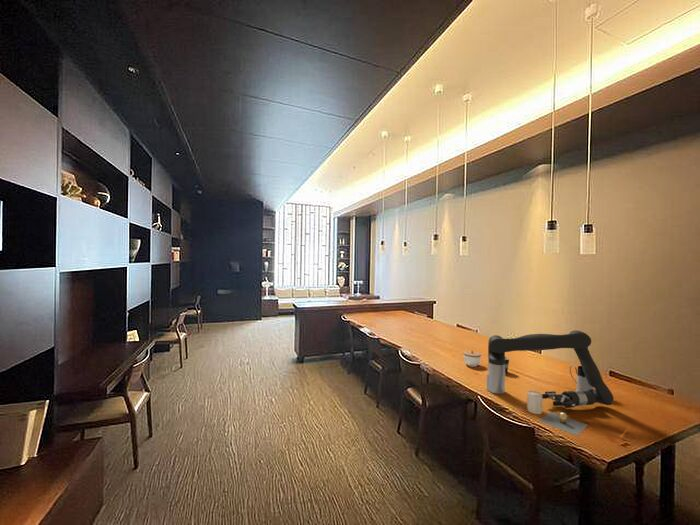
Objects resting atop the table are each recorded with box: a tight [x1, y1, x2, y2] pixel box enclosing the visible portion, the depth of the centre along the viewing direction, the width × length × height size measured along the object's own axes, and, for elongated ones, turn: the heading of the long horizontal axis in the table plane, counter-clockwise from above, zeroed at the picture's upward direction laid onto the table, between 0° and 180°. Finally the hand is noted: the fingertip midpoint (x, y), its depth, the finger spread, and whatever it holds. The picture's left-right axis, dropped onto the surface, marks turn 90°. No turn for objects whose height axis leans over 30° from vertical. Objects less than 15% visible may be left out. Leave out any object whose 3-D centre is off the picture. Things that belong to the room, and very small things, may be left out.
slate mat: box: [538, 411, 588, 436], centre depth 152 cm, size 16×15×1 cm
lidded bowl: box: [463, 350, 482, 368], centre depth 238 cm, size 13×13×11 cm
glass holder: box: [569, 365, 594, 391], centre depth 192 cm, size 9×14×15 cm, turn 15°
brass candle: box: [559, 411, 568, 424], centre depth 152 cm, size 3×3×5 cm
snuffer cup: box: [526, 390, 543, 415], centre depth 164 cm, size 6×6×10 cm
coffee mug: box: [505, 356, 510, 374], centre depth 224 cm, size 12×9×10 cm
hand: (547, 399), depth 165 cm, fingers open, 8 cm apart
